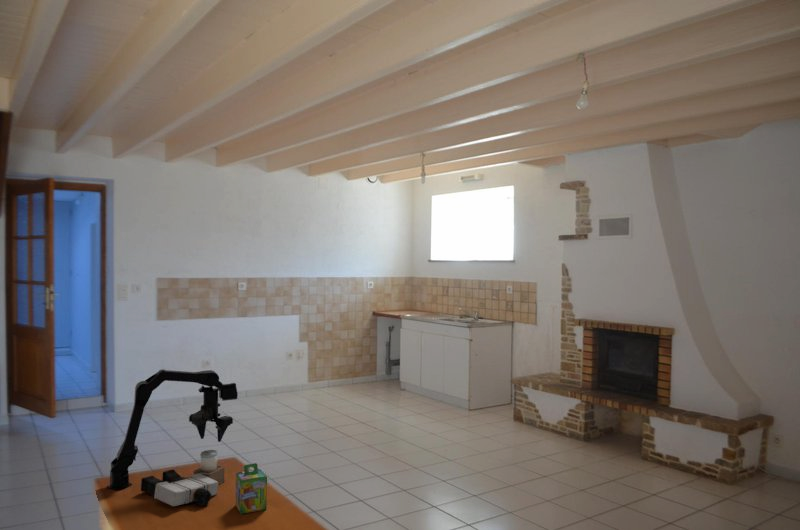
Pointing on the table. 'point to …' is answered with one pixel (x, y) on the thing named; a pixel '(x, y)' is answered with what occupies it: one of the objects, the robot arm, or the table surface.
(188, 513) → the table surface
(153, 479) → the toy
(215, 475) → the beige box
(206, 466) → the beaker
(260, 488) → the chalk box
